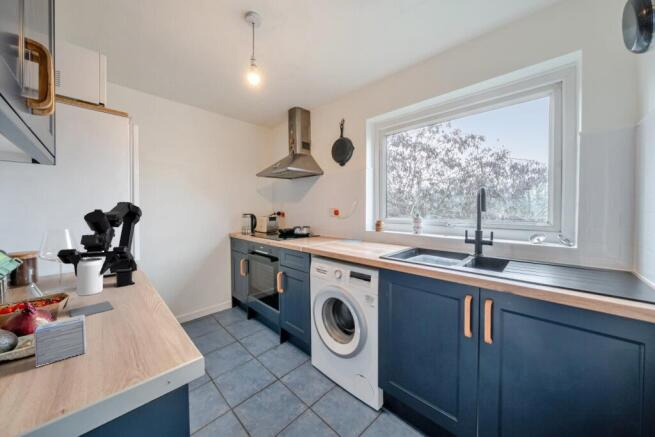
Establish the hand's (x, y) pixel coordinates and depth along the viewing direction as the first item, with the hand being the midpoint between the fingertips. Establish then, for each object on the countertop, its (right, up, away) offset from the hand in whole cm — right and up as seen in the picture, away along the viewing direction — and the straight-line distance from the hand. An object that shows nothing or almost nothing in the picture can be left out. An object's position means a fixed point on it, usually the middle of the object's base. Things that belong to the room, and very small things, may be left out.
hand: (88, 275), depth 81 cm
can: (-1, -7, +1) cm, 7 cm away
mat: (-1, -13, +2) cm, 13 cm away
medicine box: (+18, -14, -24) cm, 34 cm away
